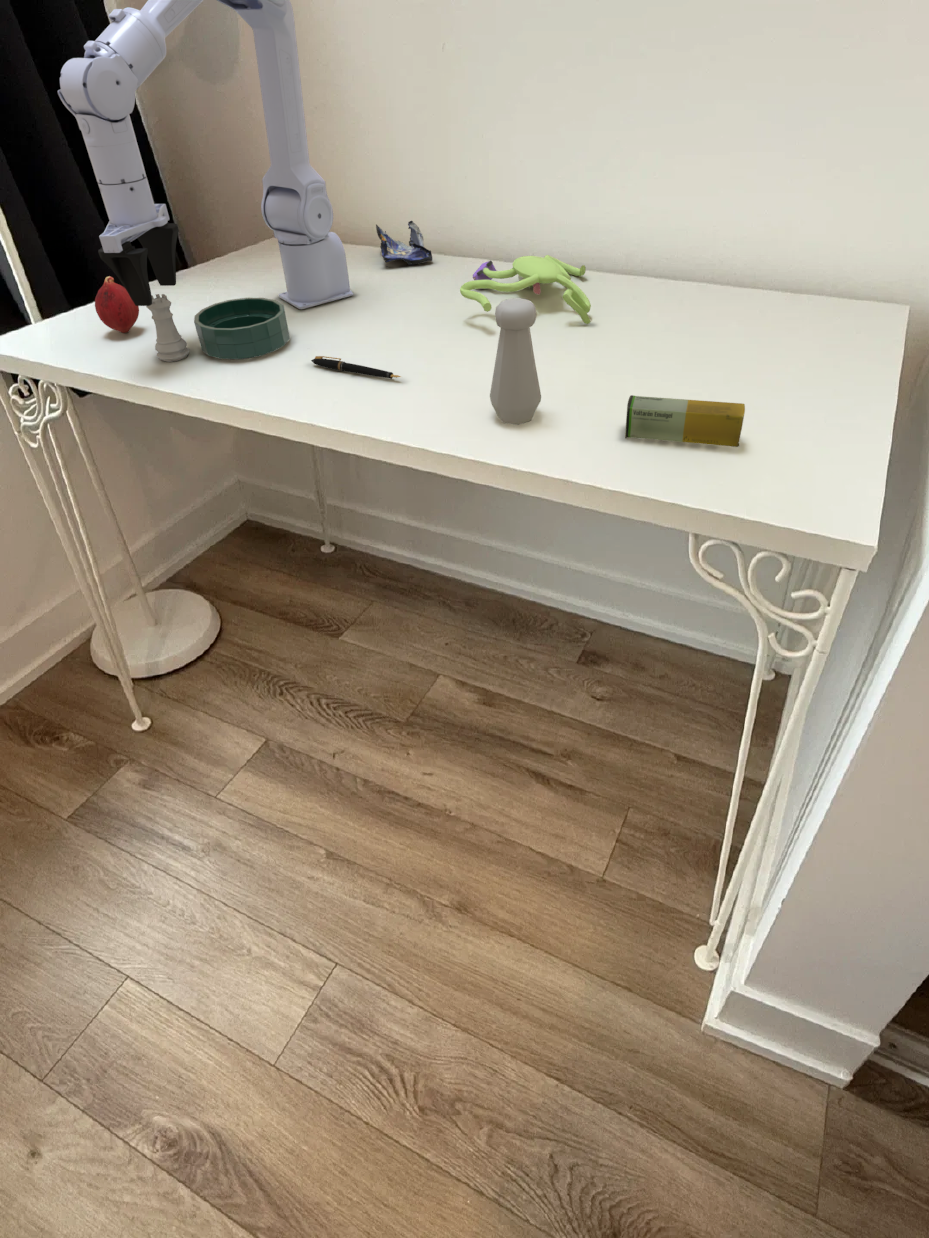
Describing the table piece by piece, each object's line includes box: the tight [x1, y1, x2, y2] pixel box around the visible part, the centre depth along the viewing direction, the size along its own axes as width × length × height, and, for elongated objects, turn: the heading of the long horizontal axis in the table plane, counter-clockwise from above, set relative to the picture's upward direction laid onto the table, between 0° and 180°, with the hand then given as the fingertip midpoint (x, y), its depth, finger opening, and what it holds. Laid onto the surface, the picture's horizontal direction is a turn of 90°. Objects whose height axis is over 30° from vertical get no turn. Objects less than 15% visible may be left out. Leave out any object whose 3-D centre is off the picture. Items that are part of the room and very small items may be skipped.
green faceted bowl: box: [193, 297, 291, 360], centre depth 109 cm, size 12×12×4 cm
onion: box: [94, 275, 140, 334], centre depth 114 cm, size 6×6×8 cm
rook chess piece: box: [145, 293, 190, 363], centre depth 106 cm, size 4×4×8 cm
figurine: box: [459, 254, 592, 325], centre depth 117 cm, size 18×27×6 cm
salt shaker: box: [489, 297, 542, 426], centre depth 86 cm, size 6×6×13 cm
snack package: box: [375, 220, 433, 268], centre depth 136 cm, size 12×6×12 cm
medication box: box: [624, 394, 746, 448], centre depth 83 cm, size 12×3×4 cm, turn 73°
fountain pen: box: [310, 355, 402, 380], centre depth 101 cm, size 14×1×2 cm, turn 62°
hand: (156, 294), depth 103 cm, fingers open, 7 cm apart
